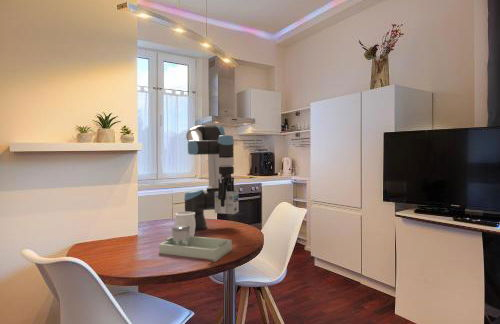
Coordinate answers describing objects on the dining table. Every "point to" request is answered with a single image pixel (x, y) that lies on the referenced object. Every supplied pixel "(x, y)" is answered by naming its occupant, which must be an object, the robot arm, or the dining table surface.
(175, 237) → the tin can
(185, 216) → the jar
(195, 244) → the tray
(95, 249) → the dining table surface
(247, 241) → the dining table surface
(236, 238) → the dining table surface
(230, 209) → the light bulb box
